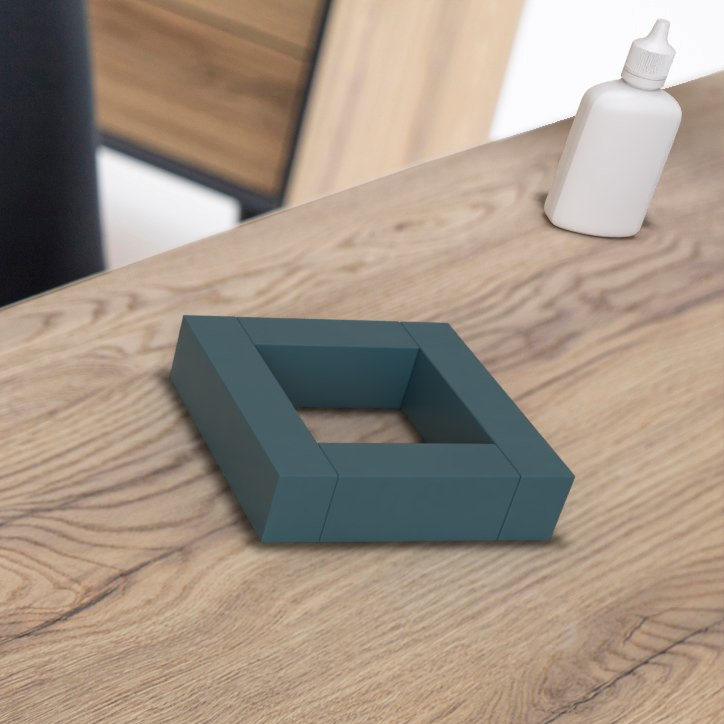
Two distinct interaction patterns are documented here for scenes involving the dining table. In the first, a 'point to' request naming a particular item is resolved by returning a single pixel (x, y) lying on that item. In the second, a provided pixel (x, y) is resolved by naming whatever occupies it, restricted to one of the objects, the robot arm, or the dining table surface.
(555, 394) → the dining table surface
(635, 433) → the dining table surface
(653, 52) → the eye dropper bottle
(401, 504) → the frame
